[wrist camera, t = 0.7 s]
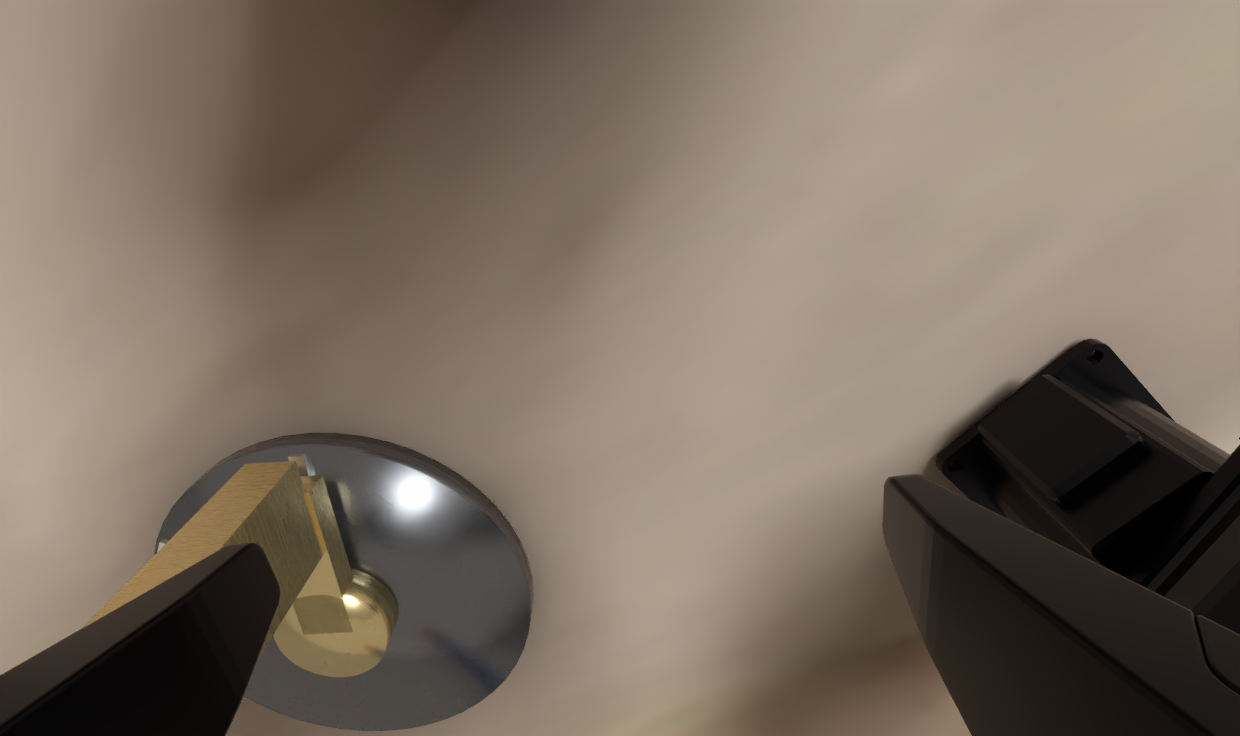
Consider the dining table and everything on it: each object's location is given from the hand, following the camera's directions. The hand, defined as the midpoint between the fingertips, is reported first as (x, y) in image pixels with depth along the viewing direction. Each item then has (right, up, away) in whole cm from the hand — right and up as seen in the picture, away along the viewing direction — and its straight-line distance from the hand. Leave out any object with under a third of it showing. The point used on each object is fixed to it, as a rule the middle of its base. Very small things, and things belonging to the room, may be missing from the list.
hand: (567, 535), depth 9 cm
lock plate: (-10, -6, +16) cm, 20 cm away
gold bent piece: (-10, -4, +14) cm, 17 cm away
